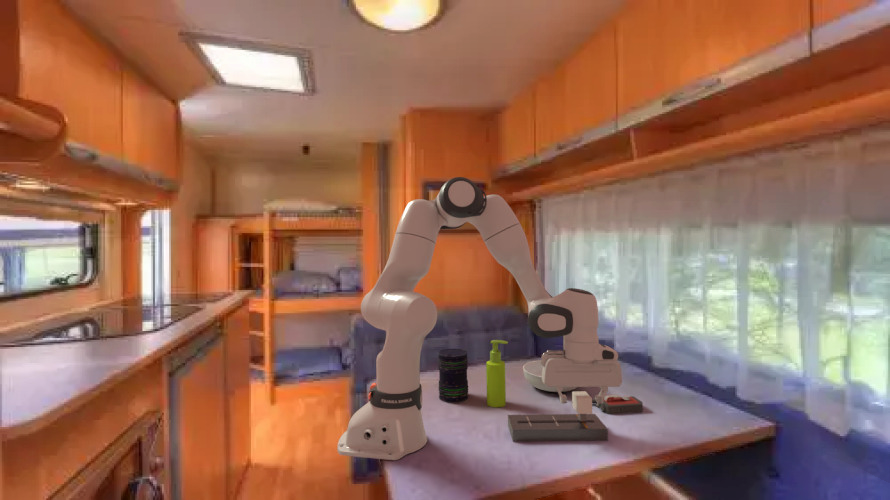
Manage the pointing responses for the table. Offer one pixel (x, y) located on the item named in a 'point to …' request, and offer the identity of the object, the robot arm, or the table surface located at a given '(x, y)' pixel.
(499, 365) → the soap dispenser
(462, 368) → the black ridged cylinder
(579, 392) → the fader knob
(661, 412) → the table surface
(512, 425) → the fader panel
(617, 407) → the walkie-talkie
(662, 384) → the table surface
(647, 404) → the table surface
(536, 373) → the serving bowl
